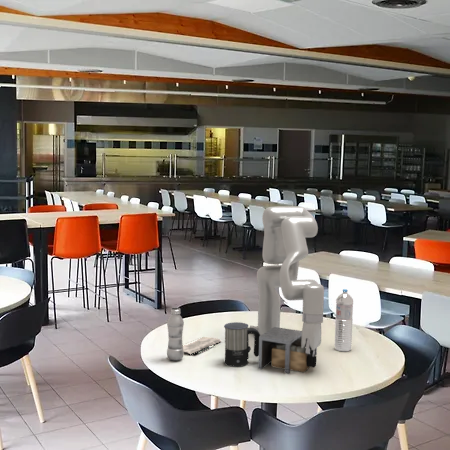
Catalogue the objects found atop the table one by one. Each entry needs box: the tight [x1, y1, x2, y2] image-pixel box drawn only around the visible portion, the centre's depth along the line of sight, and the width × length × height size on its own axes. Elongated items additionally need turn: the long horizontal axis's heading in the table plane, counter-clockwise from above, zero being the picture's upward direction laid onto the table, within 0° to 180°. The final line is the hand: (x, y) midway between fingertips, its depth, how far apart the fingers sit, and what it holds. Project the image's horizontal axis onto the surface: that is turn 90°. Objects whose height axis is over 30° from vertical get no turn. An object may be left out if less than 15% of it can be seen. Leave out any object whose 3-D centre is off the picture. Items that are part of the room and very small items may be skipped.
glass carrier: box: [271, 343, 311, 373], centre depth 237 cm, size 13×6×8 cm, turn 64°
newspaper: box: [183, 336, 222, 356], centre depth 260 cm, size 23×12×2 cm, turn 146°
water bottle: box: [334, 288, 354, 352], centre depth 259 cm, size 7×7×25 cm
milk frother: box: [223, 321, 260, 368], centre depth 244 cm, size 14×16×15 cm
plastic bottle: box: [166, 307, 185, 361], centre depth 242 cm, size 6×7×20 cm
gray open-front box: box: [257, 327, 302, 375], centre depth 238 cm, size 12×15×12 cm
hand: (311, 366), depth 233 cm, fingers closed
